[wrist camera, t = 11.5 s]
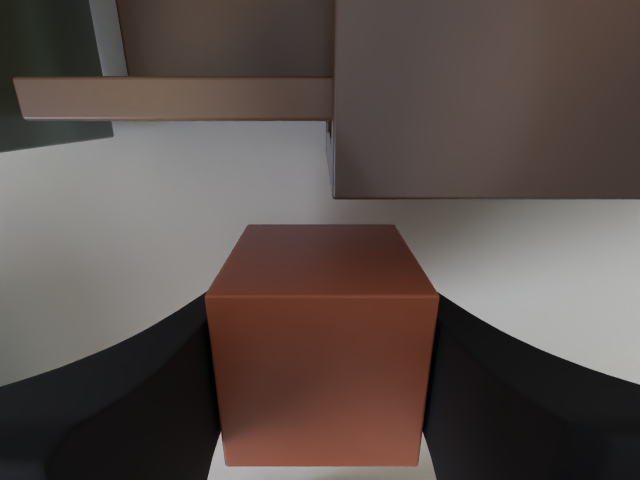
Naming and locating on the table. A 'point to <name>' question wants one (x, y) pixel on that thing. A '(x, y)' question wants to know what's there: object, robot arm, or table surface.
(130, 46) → the drawer
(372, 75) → the cabinet
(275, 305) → the block
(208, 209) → the table surface
